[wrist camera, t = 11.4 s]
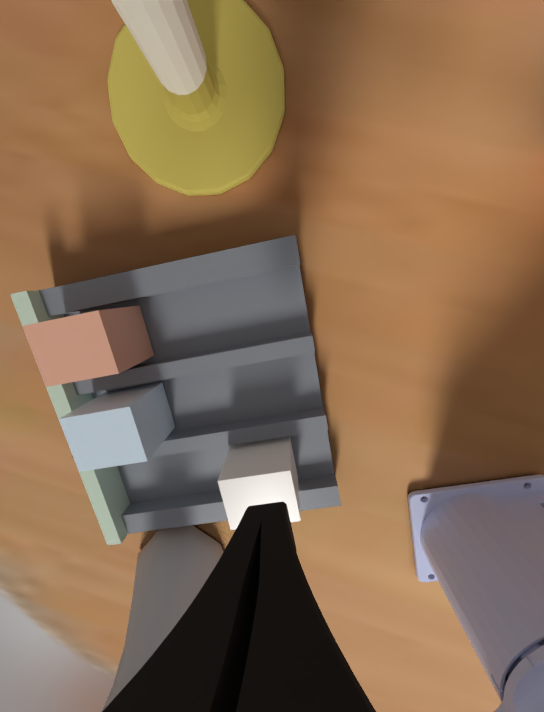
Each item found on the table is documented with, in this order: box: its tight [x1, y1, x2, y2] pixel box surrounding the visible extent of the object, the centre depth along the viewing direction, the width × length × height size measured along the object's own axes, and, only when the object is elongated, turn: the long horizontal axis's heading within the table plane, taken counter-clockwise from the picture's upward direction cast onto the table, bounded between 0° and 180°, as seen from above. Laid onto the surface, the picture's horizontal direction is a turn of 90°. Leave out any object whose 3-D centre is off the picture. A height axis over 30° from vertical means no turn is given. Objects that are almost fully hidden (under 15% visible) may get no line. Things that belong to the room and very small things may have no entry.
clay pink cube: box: [23, 306, 154, 387], centre depth 16 cm, size 4×3×4 cm
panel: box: [10, 235, 341, 545], centre depth 19 cm, size 16×17×3 cm
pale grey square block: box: [218, 436, 301, 530], centre depth 18 cm, size 4×3×4 cm
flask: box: [103, 525, 223, 710], centre depth 19 cm, size 7×7×10 cm
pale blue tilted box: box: [59, 382, 175, 472], centre depth 17 cm, size 4×3×4 cm
